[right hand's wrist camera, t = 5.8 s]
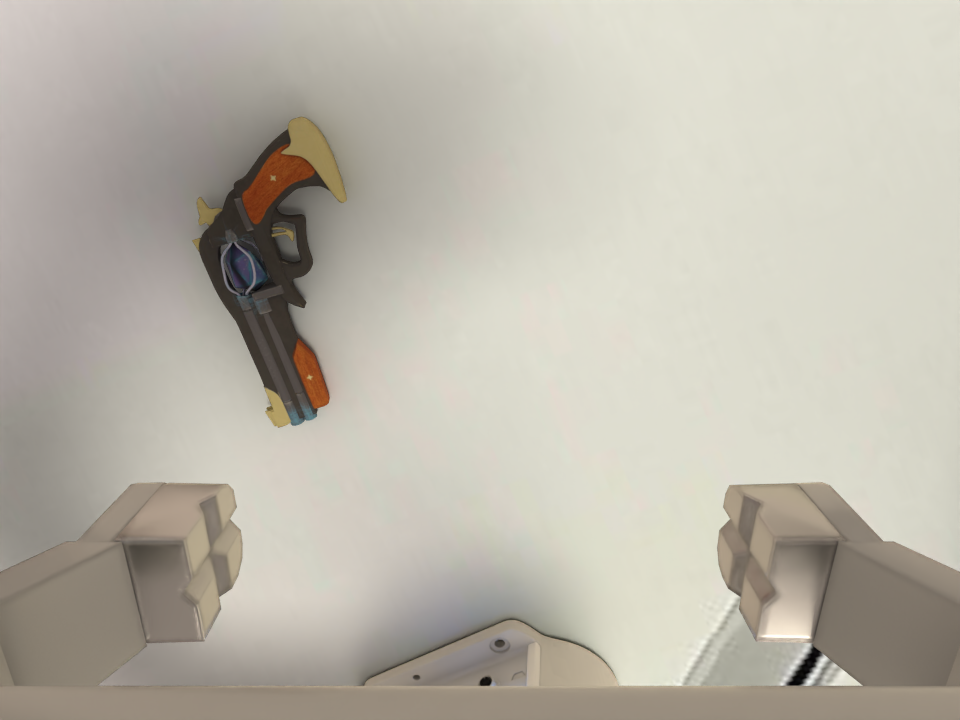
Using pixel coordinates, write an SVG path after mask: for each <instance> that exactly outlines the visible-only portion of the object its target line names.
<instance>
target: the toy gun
mask: <svg viewBox="0 0 960 720" xmlns="http://www.w3.org/2000/svg"><path fill="white" fill-rule="evenodd" d="M307 186H322V187H324V188H326V189H328V190H330V191H331V192H332V194H333V195H334V196H335V197H336V199H337V200H338V201H339V202H341V203H343V202H345V201H347V198H346V193H345V189H344V186H343V182H342V179H341V176H340V173H339V170H338V167H337V164H336V162H335V159H334V156H333V154H332V151H331V149H330V147H329V145H328V143H327V141H326V140H325V138H324V136H323V135H322V133H321V132H320V130H319V129H318V128H317V127H316V126H315V125H314V124H313V123H312V122H311V121H310V120H308V119H306V118H304V117H299V118H295V119H293V120H291V121H290V122H289V124H288V130H286V131H285V132H283V133H282V134H281V135H279V136H278V137H277V138H276V139H275V140H274V141H273V142H272V143H271V144H270V145H269V146H268V147H267V148H266V149H265V150H264V152H263V153H262V154H261V155H260V157H259V158H258V159H257V161H256V162H255V164H254V165H253V167H252V168H251V169H250V171H249V172H248V173H247V175H246V176H245V177H244V178H242V179H240V180H238V181H236V182H235V184H234V189H233V190H232V191H231V192H230V193H229V194H228V196H227V198H226V201H225V204H224V207H223V209H221V208H213V209H210V208H209V207H208V206H207V205H206V203H205V202H204V201H203V199H202V198H201V197H199V198H198V200H197V208H198V212H199V215H200V218H199V225H202V224H204V223H207V224H208V225H209V228H208V229H207V230H206V231H205V232H204V233H203V235H202V237H201V238H199V239H195V240H192V241H193V243H194V244H195V246H196V248H197V249H198V251H199V253H200V255H201V258H202V261H203V263H204V265H205V268H206V270H207V272H208V274H209V277H210V279H211V281H212V283H213V285H214V288H215V290H216V291H217V293H218V295H219V297H220V299H221V300H222V302H223V304H224V305H225V307H226V308H227V310H228V311H229V312H230V314H231V315H232V317H233V318H234V319H235V321H236V322H237V324H238V326H239V329H240V331H241V333H242V335H243V338H244V340H245V342H246V344H247V347H248V349H249V351H250V354H251V356H252V358H253V360H254V363H255V365H256V367H257V369H258V372H259V374H260V376H261V379H262V381H263V384H264V388H265V391H266V393H267V395H268V398H269V400H270V403H271V405H272V406H271V407H267V411H265V412H266V414H267V415H268V417H269V418H270V420H271V421H272V423H273V424H274V426H278V427H282V426H285V425H287V424H289V423H290V422H291V425H293V426H296V425H299V424H301V423H303V422H304V419H305V420H312V419H314V418H315V417H317V408H319V407H323V406H325V405H327V404H328V403H329V394H328V391H327V388H326V385H325V382H324V379H323V376H322V373H321V371H320V368H319V365H318V362H317V360H316V357H315V355H314V353H313V352H312V351H311V350H310V349H309V348H308V347H307V346H306V345H305V344H304V343H303V342H302V341H301V340H300V339H299V338H298V337H297V335H296V332H295V330H294V327H293V325H292V322H291V320H290V316H289V313H288V307H287V302H289V303H291V304H293V305H295V306H298V307H301V308H305V305H306V301H305V300H304V299H303V297H302V296H301V295H300V294H299V292H298V291H297V290H296V288H295V286H294V284H293V283H292V280H293V279H294V278H298V277H302V276H304V275H305V274H307V273H308V272H309V271H310V269H311V267H312V265H313V259H312V256H311V254H310V251H309V248H308V243H307V237H306V218H305V216H304V215H302V214H298V215H284V214H281V213H280V212H279V211H278V210H277V206H278V205H279V204H280V203H281V202H282V201H283V200H284V199H285V198H286V197H287V196H288V195H289V194H290V193H292V192H293V191H294V190H296V189H298V188H301V187H307ZM278 222H289V223H292V224H294V225H295V227H296V236H297V247H298V251H299V254H300V258H301V260H300V261H298V262H290V261H287V260H284V259H282V257H281V254H280V252H279V249H278V247H277V244H276V242H275V239H274V237H275V236H280V235H288V236H289V238H290V239H291V241H293V240H294V231H292V230H290V229H287V228H284V227H273V224H274V223H278ZM275 229H283V230H285V231H286V232H278V233H272V230H275ZM249 237H253V238H254V240H255V242H256V245H257V246H256V245H255V244H253V243H252V242H250V241H248V240H245V239H246V238H249ZM239 240H241V241H243V242H246V243H249V244H250V245H252V246H253V247H255V248H256V249H257V250H258V252H259V253H260V255H261V261H260V260H259V259H258V258H257V257H256V256H255V255H254V254H252V253H251V252H250V251H249V250H247V249H245V248H244V247H242V246H240V245H239V244H237V242H236V241H239ZM224 244H229V245H228V246H227V248H226V249H225V250H224V251H223V253H222V255H221V252H220V248H221V245H224ZM227 250H228V251H227ZM226 252H227V255H226V258H225V262H226V264H227V267H228V269H229V272H230V275H231V277H232V280H233V283H234V285H235V287H236V288H242V289H243V292H242V293H238V292H237V291H236V290H235V288H234V287H233V285H232V284H231V281H230V279H229V277H228V275H227V273H226V270H225V268H224V255H225V253H226ZM262 262H264V264H265V266H266V268H267V270H268V272H269V274H270V276H271V278H272V280H273V283H269V284H265V285H263V284H264V283H265V282H266V281H267V280H268V276H267V274H266V271H265V269H264V266H263V264H262ZM245 289H247V291H246V292H245ZM250 290H253V291H255V292H252V294H251V293H250V292H249V291H250Z"/></svg>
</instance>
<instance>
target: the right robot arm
mask: <svg viewBox="0 0 960 720" xmlns="http://www.w3.org/2000/svg"><path fill="white" fill-rule="evenodd" d="M236 508H237V505H236V500H235V496H234V491H233V489H232V488H231V487H230V486H229V485H228V484H200V483H164V482H163V483H136V484H132V485H130V486H129V487H128V488H127V489H126V490H125V491H124V492H123V493H122V494H121V495H120V497H119V498H118V499H117V500H116V501H115V502H114V503H113V504H112V505H111V506H110V507H109V508H108V509H107V510H106V511H105V512H104V513H103V514H102V515H101V516H100V517H99V518H98V519H97V521H96V522H95V523H94V524H93V525H92V526H91V527H90V528H89V529H88V530H87V531H86V532H85V533H84V534H83V535H82V536H81V537H80V538H79V539H78V540H77V541H76V542H64V543H62V544H60V545H58V546H56V547H53V548H51V549H49V550H47V551H45V552H43V553H40V554H38V555H36V556H34V557H32V558H30V559H27V560H25V561H23V562H21V563H19V564H16V565H14V566H12V567H10V568H8V569H6V570H3V571H1V572H0V720H960V572H959V571H956V570H954V569H952V568H950V567H948V566H946V565H943V564H941V563H939V562H937V561H935V560H933V559H930V558H928V557H926V556H924V555H922V554H920V553H917V552H915V551H913V550H911V549H909V548H907V547H904V546H902V545H900V544H898V543H896V542H884V541H883V540H882V539H881V538H880V537H879V536H878V535H877V534H876V533H875V532H874V531H873V530H872V529H871V528H870V527H869V526H868V525H867V524H866V523H865V522H864V520H863V519H862V518H861V517H860V516H859V515H858V514H857V513H856V512H855V511H854V510H853V509H852V508H851V507H850V506H849V505H848V504H847V503H846V502H845V501H844V500H843V498H842V497H841V496H840V495H839V494H838V493H837V492H836V491H835V490H834V489H833V488H832V487H831V486H830V485H828V484H825V483H823V482H814V483H791V484H752V485H729V487H728V490H727V492H726V494H725V499H724V505H723V508H724V509H725V511H726V513H727V514H728V516H729V518H730V520H729V521H728V522H727V523H726V524H725V525H724V526H723V527H722V528H721V529H720V530H719V537H718V545H717V551H718V562H719V567H720V571H721V574H722V577H723V579H724V581H725V583H726V585H727V587H728V589H730V590H731V591H733V592H734V593H736V594H737V595H739V596H740V597H741V599H740V605H739V610H740V612H741V614H742V616H743V618H744V620H745V621H746V623H747V625H748V627H749V629H750V631H751V633H752V634H753V636H754V638H755V640H756V641H761V642H797V643H813V646H814V647H815V648H817V649H818V650H819V651H820V652H822V653H823V654H824V655H825V656H827V657H828V658H829V659H830V660H832V661H833V662H834V663H835V664H837V665H838V666H839V667H840V668H842V669H843V670H844V671H845V672H847V673H848V674H849V675H850V676H852V677H853V678H854V679H855V680H857V681H858V682H859V683H860V684H862V685H863V686H618V683H617V680H616V678H615V676H614V674H613V672H612V671H611V669H610V668H609V667H608V666H607V664H606V663H605V662H604V661H603V660H602V659H600V658H599V657H598V656H597V655H595V654H594V653H592V652H591V651H589V650H587V649H585V648H583V647H581V646H579V645H576V644H573V643H570V642H567V641H563V640H558V639H554V638H550V637H547V636H544V635H541V634H540V633H539V632H537V631H536V630H534V629H533V628H531V627H530V626H528V625H526V624H524V623H522V622H520V621H517V620H507V621H504V622H501V623H499V624H496V625H494V626H492V627H489V628H487V629H485V630H482V631H480V632H478V633H475V634H473V635H471V636H468V637H466V638H463V639H461V640H459V641H456V642H454V643H452V644H449V645H447V646H445V647H442V648H440V649H438V650H435V651H433V652H430V653H428V654H426V655H423V656H421V657H419V658H416V659H414V660H412V661H409V662H407V663H405V664H402V665H400V666H397V667H395V668H393V669H390V670H388V671H386V672H383V673H381V674H379V675H376V676H374V677H372V678H370V679H368V680H367V681H366V682H365V685H364V686H97V685H99V684H100V683H101V682H102V681H104V680H105V679H106V678H107V677H109V676H110V675H111V674H112V673H114V672H115V671H116V670H117V669H119V668H120V667H121V666H122V665H124V664H125V663H126V662H127V661H129V660H130V659H131V658H132V657H134V656H135V655H136V654H137V653H139V652H140V651H141V650H142V649H144V648H145V647H146V646H147V644H146V643H162V642H197V641H204V640H205V638H206V636H207V635H208V633H209V631H210V629H211V627H212V625H213V623H214V621H215V620H216V618H217V616H218V614H219V612H220V610H221V605H220V599H219V597H220V596H221V595H223V594H224V593H226V592H227V591H229V590H230V589H232V587H233V585H234V583H235V581H236V579H237V577H238V575H239V570H240V566H241V561H242V536H241V530H240V529H239V528H238V527H237V526H236V525H235V524H234V523H233V522H232V521H231V520H230V518H231V516H232V514H233V513H234V511H235V509H236ZM499 639H500V640H501V641H498V640H499Z"/></svg>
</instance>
